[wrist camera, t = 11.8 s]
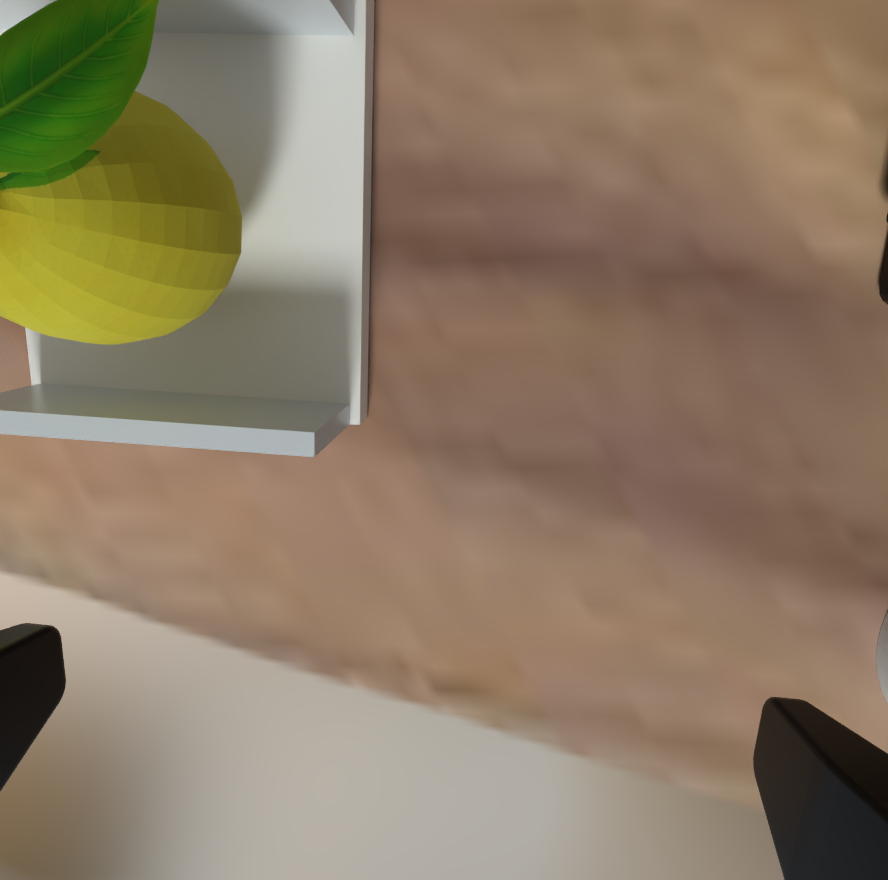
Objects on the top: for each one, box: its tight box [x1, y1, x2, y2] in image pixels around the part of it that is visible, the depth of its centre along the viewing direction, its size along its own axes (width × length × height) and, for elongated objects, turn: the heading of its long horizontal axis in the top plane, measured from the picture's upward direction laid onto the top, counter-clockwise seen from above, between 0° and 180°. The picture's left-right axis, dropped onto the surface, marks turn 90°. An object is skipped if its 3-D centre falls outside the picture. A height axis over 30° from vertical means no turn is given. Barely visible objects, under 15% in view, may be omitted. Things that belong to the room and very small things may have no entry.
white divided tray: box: [0, 0, 375, 457], centre depth 16 cm, size 10×21×4 cm, turn 177°
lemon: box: [0, 0, 242, 345], centre depth 13 cm, size 7×6×10 cm
